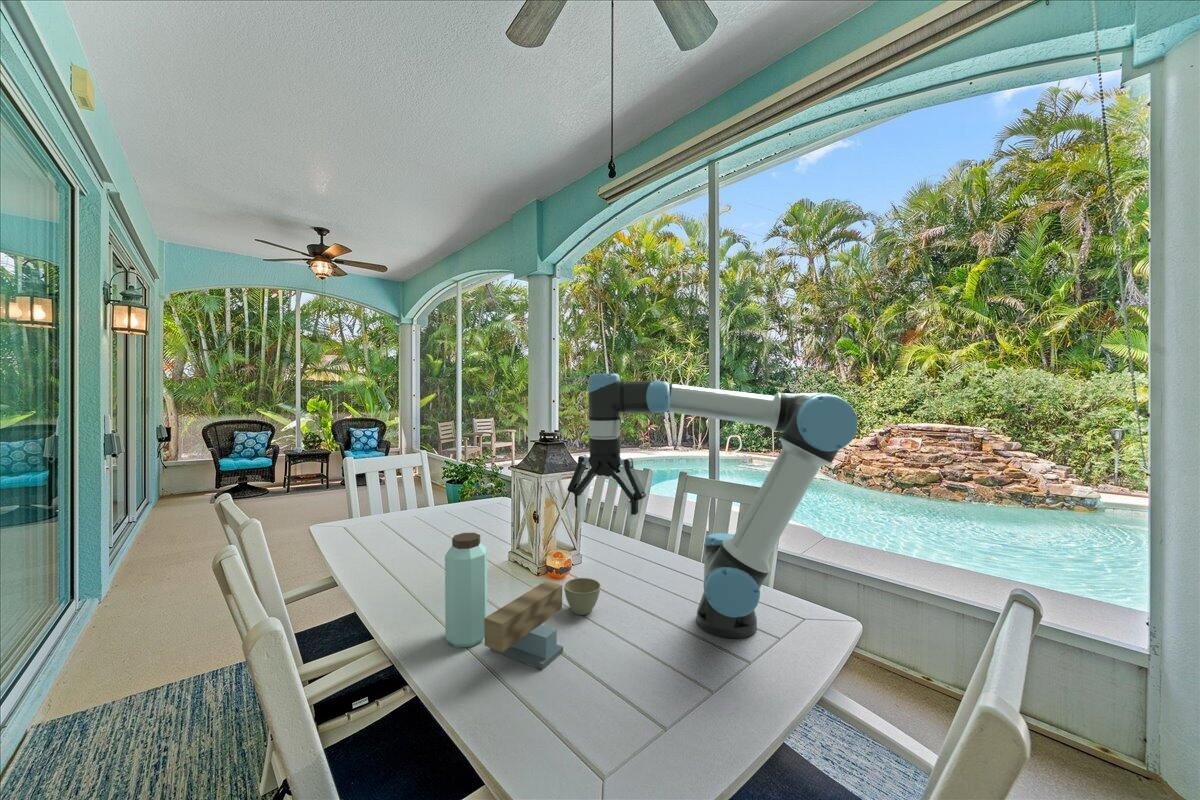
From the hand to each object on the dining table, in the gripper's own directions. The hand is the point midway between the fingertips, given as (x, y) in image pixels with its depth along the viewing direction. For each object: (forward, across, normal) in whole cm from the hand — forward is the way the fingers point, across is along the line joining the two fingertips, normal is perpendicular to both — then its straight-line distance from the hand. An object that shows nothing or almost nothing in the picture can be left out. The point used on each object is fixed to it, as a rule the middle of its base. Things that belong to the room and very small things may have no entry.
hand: (605, 524), depth 115 cm
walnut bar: (+22, +14, +15) cm, 29 cm away
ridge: (+28, +14, +14) cm, 34 cm away
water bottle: (+27, +30, +17) cm, 44 cm away
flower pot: (+28, +12, -8) cm, 32 cm away
